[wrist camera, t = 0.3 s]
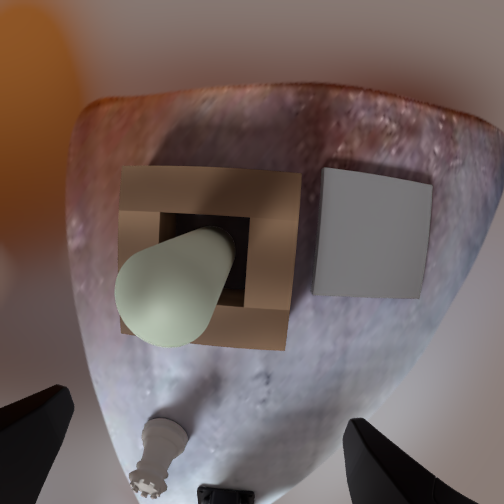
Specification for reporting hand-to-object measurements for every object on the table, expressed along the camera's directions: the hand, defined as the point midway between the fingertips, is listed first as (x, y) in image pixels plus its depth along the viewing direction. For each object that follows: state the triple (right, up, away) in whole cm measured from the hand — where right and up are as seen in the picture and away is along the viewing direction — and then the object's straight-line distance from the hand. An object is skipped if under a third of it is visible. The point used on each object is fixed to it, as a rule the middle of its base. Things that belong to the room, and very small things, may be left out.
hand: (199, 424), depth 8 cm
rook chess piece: (-7, -12, +17) cm, 22 cm away
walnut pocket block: (-1, +5, +14) cm, 15 cm away
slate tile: (+11, +6, +14) cm, 19 cm away
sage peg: (-1, +5, +14) cm, 15 cm away
